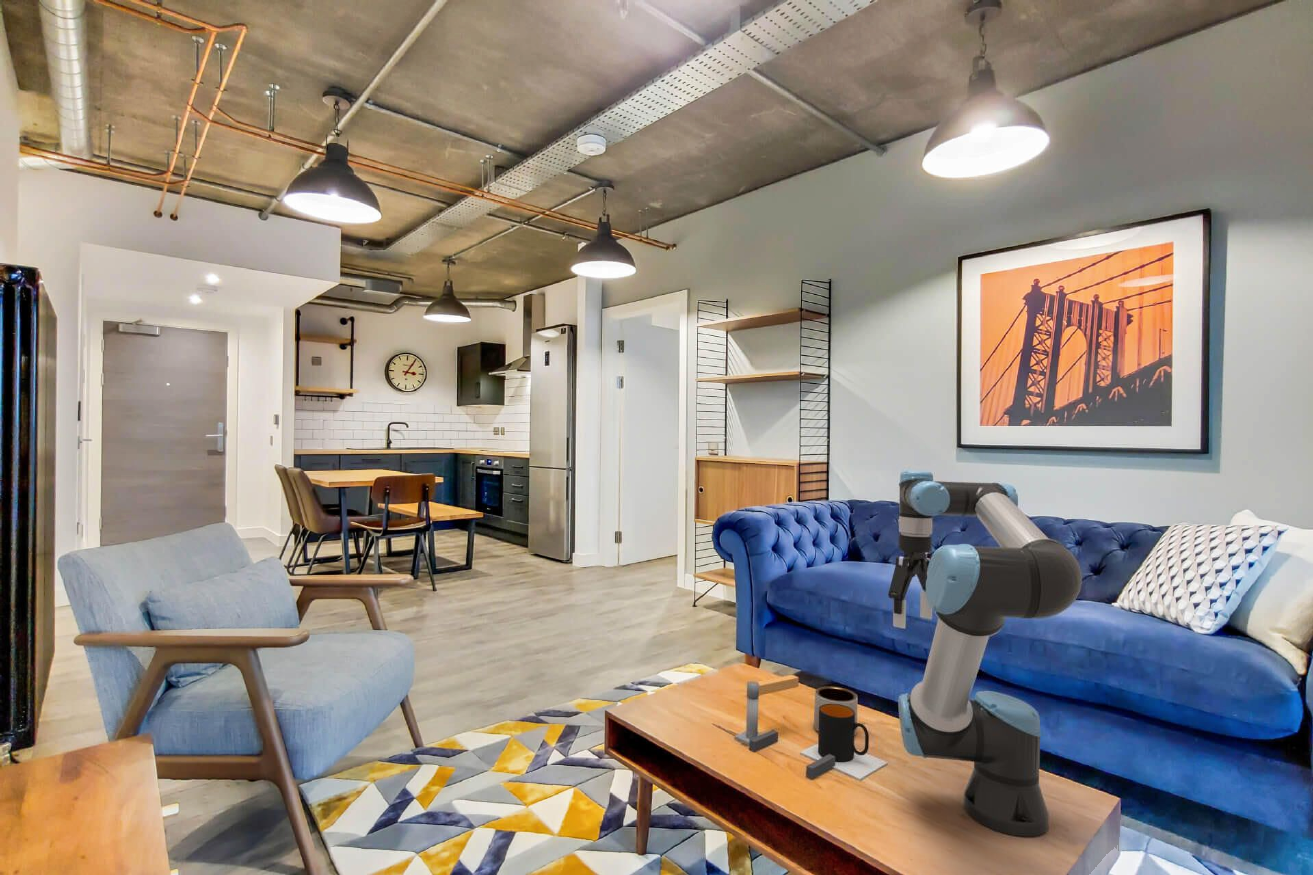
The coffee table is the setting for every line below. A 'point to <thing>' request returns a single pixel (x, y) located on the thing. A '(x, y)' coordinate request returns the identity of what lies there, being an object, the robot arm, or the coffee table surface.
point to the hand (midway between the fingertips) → (913, 622)
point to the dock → (768, 738)
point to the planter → (834, 701)
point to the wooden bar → (771, 685)
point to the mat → (851, 763)
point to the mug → (838, 732)
